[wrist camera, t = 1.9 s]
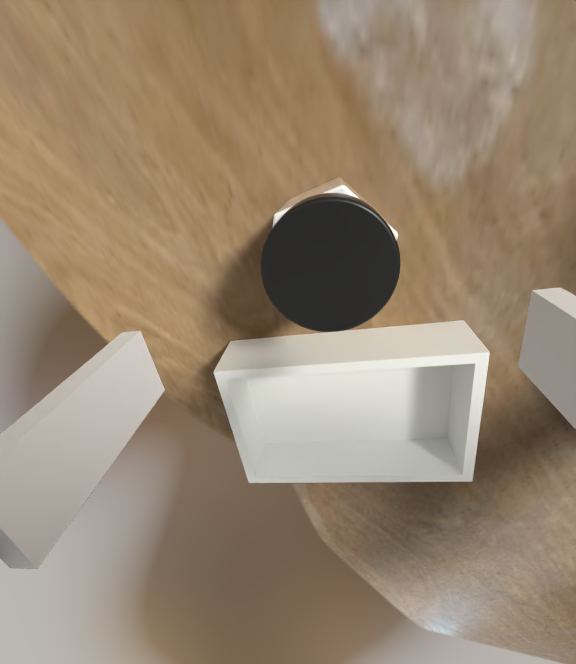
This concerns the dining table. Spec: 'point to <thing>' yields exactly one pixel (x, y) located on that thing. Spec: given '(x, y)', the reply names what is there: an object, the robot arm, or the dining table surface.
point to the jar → (330, 259)
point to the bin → (357, 404)
